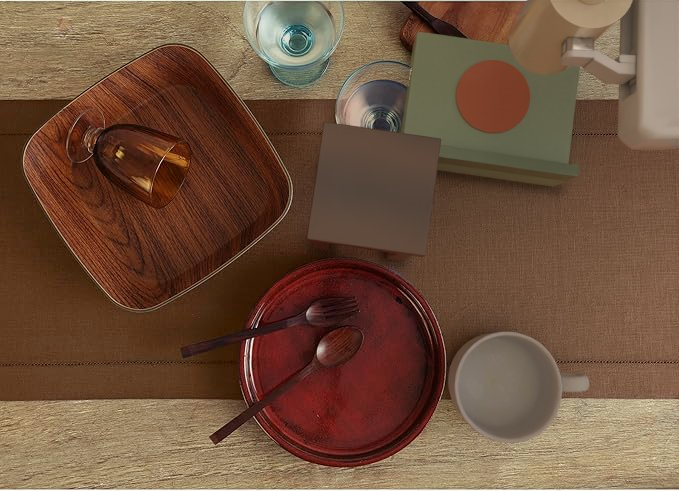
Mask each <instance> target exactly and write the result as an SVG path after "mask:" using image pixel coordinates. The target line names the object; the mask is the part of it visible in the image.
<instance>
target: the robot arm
mask: <svg viewBox="0 0 679 491" xmlns="http://www.w3.org/2000/svg"><path fill="white" fill-rule="evenodd" d="M619 21H620V22H619V55H618V56H617V57H616V58H615V59H613V58H611V57H609V56H608V55H606V54H604V53H603V52H601V51H600V50H597V49H595V43H594V38H591V37H586V38H582V39H580V38H579V37H569V38H567V39H566V40H565V42H564V43H562V44H561V65H563V66H576V67H580V68H583V70H584V71H586V72H587V73H589V74H590V75H592V76H593V77H595V78H596V79H597V80H600V81H601V82H602V83H604V84H605V85H618V99H617V100H618V103H617V107H618V109H617V138H618V139H619V141H620V142H621V143H623V144H624V145H625V146H627V147H628V148H629V149H630V150H635V151H636V150H637V151H662V150H663V151H665V150H677V149H679V0H633V1H632V4H631V6H630V8H629V9H628V11H627V12H626V13H625V14H624V16H623V17H622V18H621V19H619Z"/></svg>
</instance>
